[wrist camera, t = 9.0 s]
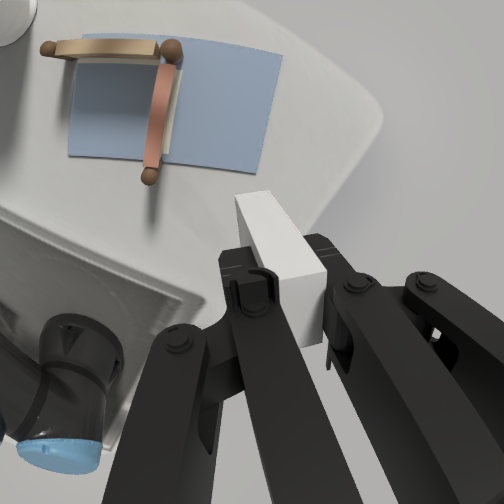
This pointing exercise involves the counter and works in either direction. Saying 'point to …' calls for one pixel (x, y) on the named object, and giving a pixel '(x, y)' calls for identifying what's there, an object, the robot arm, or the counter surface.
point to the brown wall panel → (114, 49)
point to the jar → (15, 19)
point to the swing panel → (158, 122)
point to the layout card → (176, 104)
